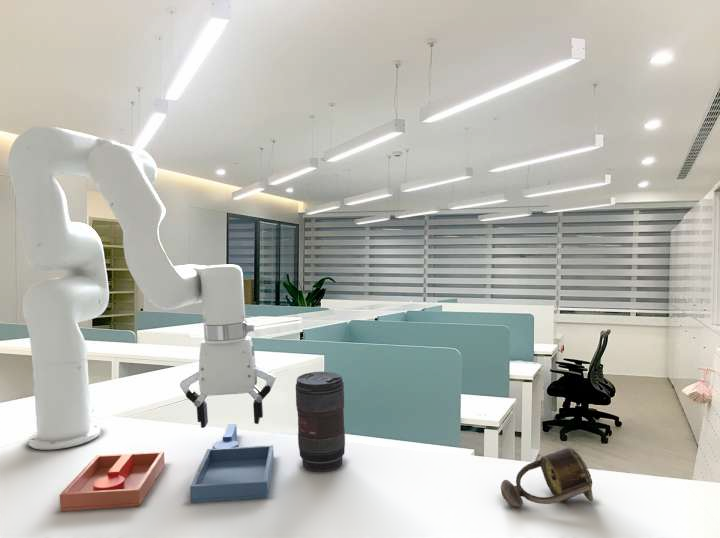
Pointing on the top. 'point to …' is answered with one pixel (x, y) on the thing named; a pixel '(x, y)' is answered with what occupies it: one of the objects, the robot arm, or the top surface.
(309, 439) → the camera lens
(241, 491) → the blue tray
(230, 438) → the blue spoon
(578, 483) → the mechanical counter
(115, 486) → the red spoon
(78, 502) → the red tray
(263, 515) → the top surface
